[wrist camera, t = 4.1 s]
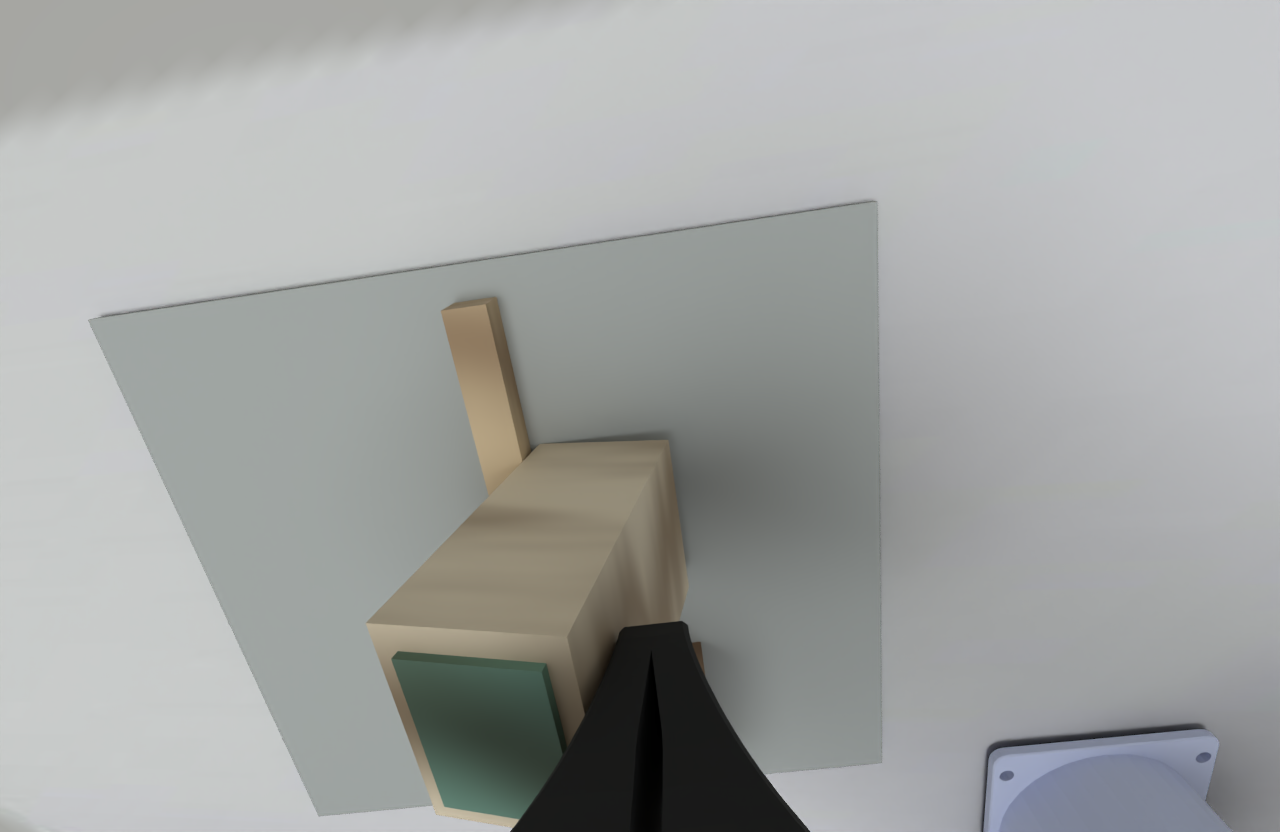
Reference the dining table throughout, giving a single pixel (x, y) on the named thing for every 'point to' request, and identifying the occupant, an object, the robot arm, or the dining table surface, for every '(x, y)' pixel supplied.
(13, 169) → the dining table surface
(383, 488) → the grey mat
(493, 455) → the oak rail
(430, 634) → the beech block
